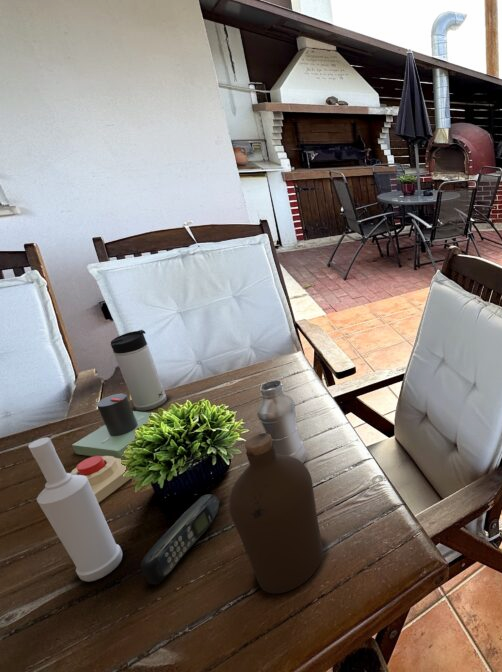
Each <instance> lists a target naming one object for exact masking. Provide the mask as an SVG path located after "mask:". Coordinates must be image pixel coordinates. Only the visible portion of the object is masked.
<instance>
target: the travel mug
mask: <svg viewBox="0 0 502 672" xmlns="http://www.w3.org/2000/svg"><path fill="white" fill-rule="evenodd" d="M145 334H146V331H145V330H144V329H139V330H134V331H129V332H126V333H123V334H120V335H118V336H116V337H115V338H114V339H112V340H111V341H110V347H111V349H112V352H113V355H114V358H115V360H116V362H117V366H118V367H119V370H120V373H121V374H122V375H121V376H122V378H123V380H124V383H125V386H126V389H127V390H128V393H129V396H130V398H131V401H132V404H133V406H134V408H135V409H134V410H135V411H138V412H147V411H150V410H153V409H157V408H158V407H160V406H162V405H164V404H165V402H166V401H167V399H168V398H167V395H166V392H165V390H164V386H163V384H162V380H161V377H160V375H159V372H158V369H157V367H156V363H155V361H154V358H153V355H152V353H151V349H150V346H149V345H148V342H147V340H146V336H145Z"/></svg>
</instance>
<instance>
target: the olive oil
mask: <svg viewBox="0 0 502 672" xmlns="http://www.w3.org/2000/svg"><path fill="white" fill-rule="evenodd" d="M244 448H245V450H246V451H245V455H246V457H247V460H248V464H249V465H248V466H247V467H246V468H245V470H244V471H243V472H241V474H240V475H239V477H238V478H237V479H236V480H235V482H234V484H233V486H232V489H231V491H230V496H229V503H228V504H229V505H228V507H229V514H230V517H231V520H232V522H233V524H234V526H235V528H236V531H237V533H238V535H239V538H240V540H241V543H242V545H243V547H244V550H245V552H246V554H247V557H248V560H249V562H250V564H251V567H252V570H253V572H254V575H255V577H256V580H257V583H258V585H259V587H260V588H261V589H262V590H263V591H264V592H266V593H269V594H273V595H276V594H277V595H279V594H284V593H288V592H290V591H293V590H295V589H297V588H298V587H300V586H302V585H303V584H305V583H306V582H307V581H308V580H310V578H311V577H312V576H313V575H314V574H315V573H316V571H317V569H318V568H319V566H320V564H321V562H322V560H323V556H324V547H323V542H322V536H321V531H320V530H321V529H320V526H319V519H318V513H317V505H316V500H315V493H314V484H313V480H312V475H311V472H310V471H309V469H308V467H306V465H305V464H304V463H302V462H301V461H300V460H298V459H296V458H294V457H291V456H286V455H280V454H276V451H275V447H274V442H273V441H272V438H271V435H270V434H268V433H266V432H261V433H258V434H255V435H253V436H251V437H250V438H248V439H247V440H246V442H245V444H244Z"/></svg>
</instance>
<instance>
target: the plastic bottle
mask: <svg viewBox="0 0 502 672" xmlns="http://www.w3.org/2000/svg"><path fill="white" fill-rule="evenodd" d="M259 390H260V398H262V399H261V401H260V402H259V405H258V406H257V411H256V415H257V418H258V420H259V422H260V424H261V426H262V428H263V429H264V433H268V434H270V435H271V438H272V441H273V442H274V447H275V451H276V454H280V455H286V456H291V457H294V458H296V459H298V460H300V461H301V462H302V463H303V464H304V463H305V461H306V459H307V447H306V445H305V443H304V441H303V439H302V437H301V435H300V432H299V429H298V428H299V427H298V422H297V415H296V403H295V400H294V398H292V397H291V396H290V395H289V394H287V393H286V392H285V387H284V386H283V382H282V380H279V379H272V380H269V381H267V382H264V383H263V384H262V385H260V387H259Z"/></svg>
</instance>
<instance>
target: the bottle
mask: <svg viewBox="0 0 502 672" xmlns="http://www.w3.org/2000/svg"><path fill="white" fill-rule="evenodd" d="M28 449H29V451H30V453H31V455H32V457H33V458H34V459H35V461H36V463H37V465H38V467H39V469H40V471H41V473H42V475H43V477H44V479H45V480H46V482H45V484H44V488H43V490H42V491H40V493H39V494H38V495H37V498H36V502H37V503H38V505H39V507H40V509H41V510H42V512H43V513H44V515H45V517H46V519H47V521H48V522H49V524H50V525H51V527H52V529H53V531H54V532H55V534H56V536H57V538H58V539H59V540H60V542H61V544H62V545H63V547H64V549H65V550H66V552H67V554H68V556H69V557H70V559H71V560H72V562H73V564H74V565H75V567H76V568H75V573H76V575H77V576H78V578H79V579H80V580H81V581H84V582H95V581H97V580H100V579H102V578H104V577H105V576H107V575H109V574H110V573H112V571H114V570H115V569H116V568H118V566H119V565H120V563H122V562H121V561H122V560H123V550H122V548H121V546H120V545H119V544H117V543H116V541H115V538H114V536H113V534H112V532H111V530H110V527H109V525H108V523H107V520H106V517H105V516H104V513H103V511H102V509H101V506H100V504H99V503H98V501H97V499H96V497H95V494H94V492H93V490H92V488H91V485H90V483H89V481H88V479H87V477H86V476H83V475H71V472H67V471H66V469H65V467H64V465H63V463H62V461H61V459H60V458H59V455H58V453H57V452H56V451H57V450H56V448H55V446H54V443H53V442H52V439H51V438H50V437H41V438H38V439H35V440H34V441H32V442H30V443H29V444H28Z"/></svg>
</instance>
